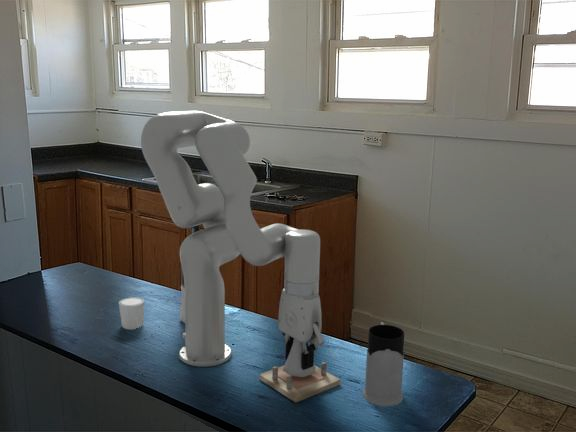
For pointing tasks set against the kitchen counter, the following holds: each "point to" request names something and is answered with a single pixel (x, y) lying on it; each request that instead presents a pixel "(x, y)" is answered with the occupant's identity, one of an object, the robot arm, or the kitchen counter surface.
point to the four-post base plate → (300, 382)
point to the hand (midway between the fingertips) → (299, 362)
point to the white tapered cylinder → (132, 312)
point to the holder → (384, 365)
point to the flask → (296, 361)
